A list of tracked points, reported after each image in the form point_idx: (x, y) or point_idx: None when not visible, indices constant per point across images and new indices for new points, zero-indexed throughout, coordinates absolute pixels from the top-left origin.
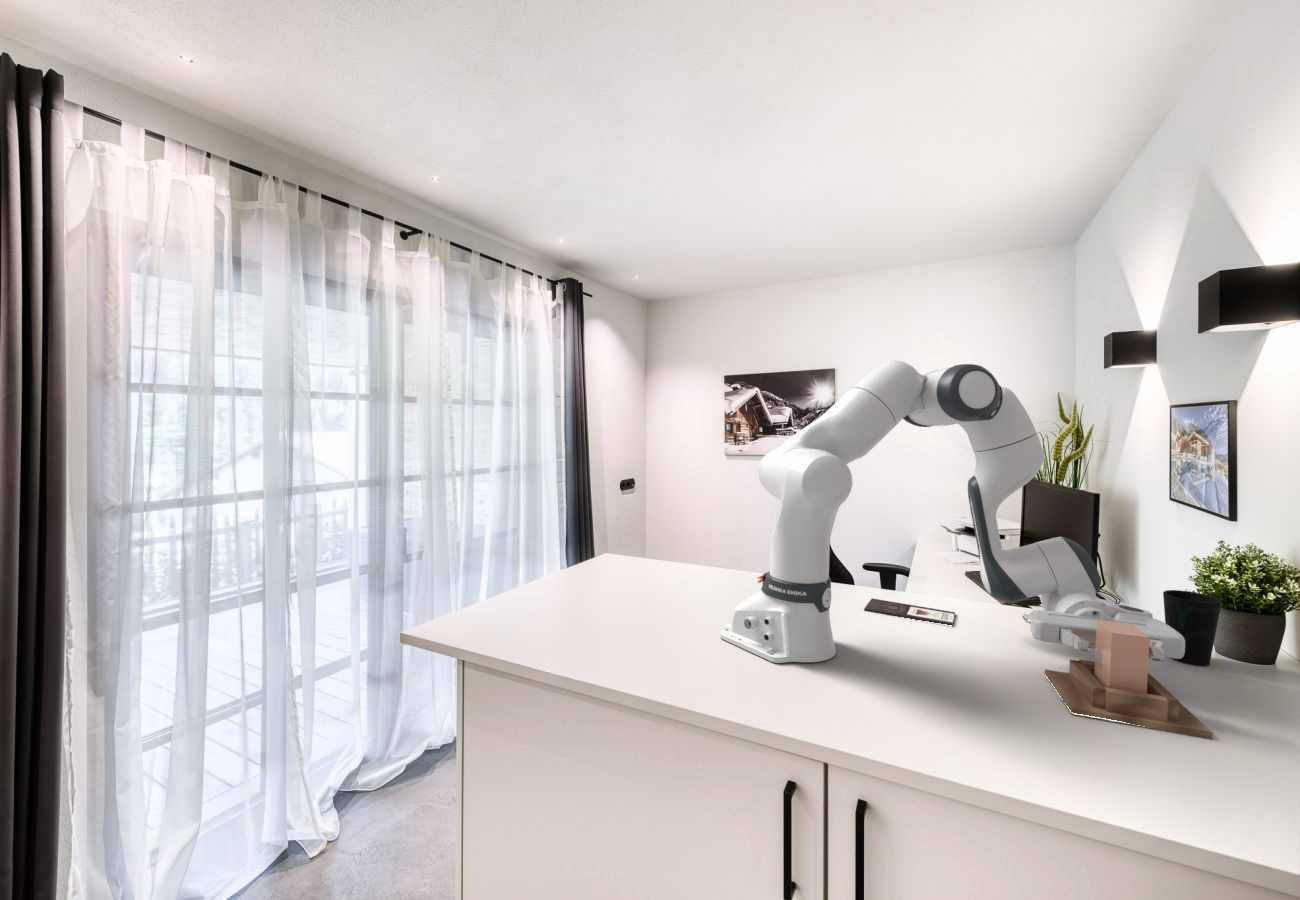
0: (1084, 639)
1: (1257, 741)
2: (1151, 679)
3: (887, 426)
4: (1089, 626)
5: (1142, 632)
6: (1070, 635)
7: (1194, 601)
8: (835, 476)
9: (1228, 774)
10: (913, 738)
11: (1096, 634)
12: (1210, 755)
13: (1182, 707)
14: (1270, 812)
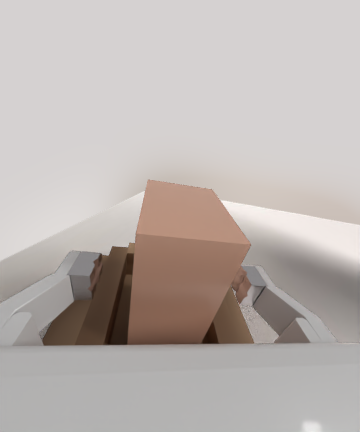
0: (249, 270)
1: (22, 270)
2: (94, 318)
3: None
4: (266, 357)
5: (146, 191)
6: (285, 295)
7: None
8: None
9: (126, 221)
10: (288, 223)
11: (229, 281)
12: (119, 236)
13: (60, 317)
14: (130, 202)
